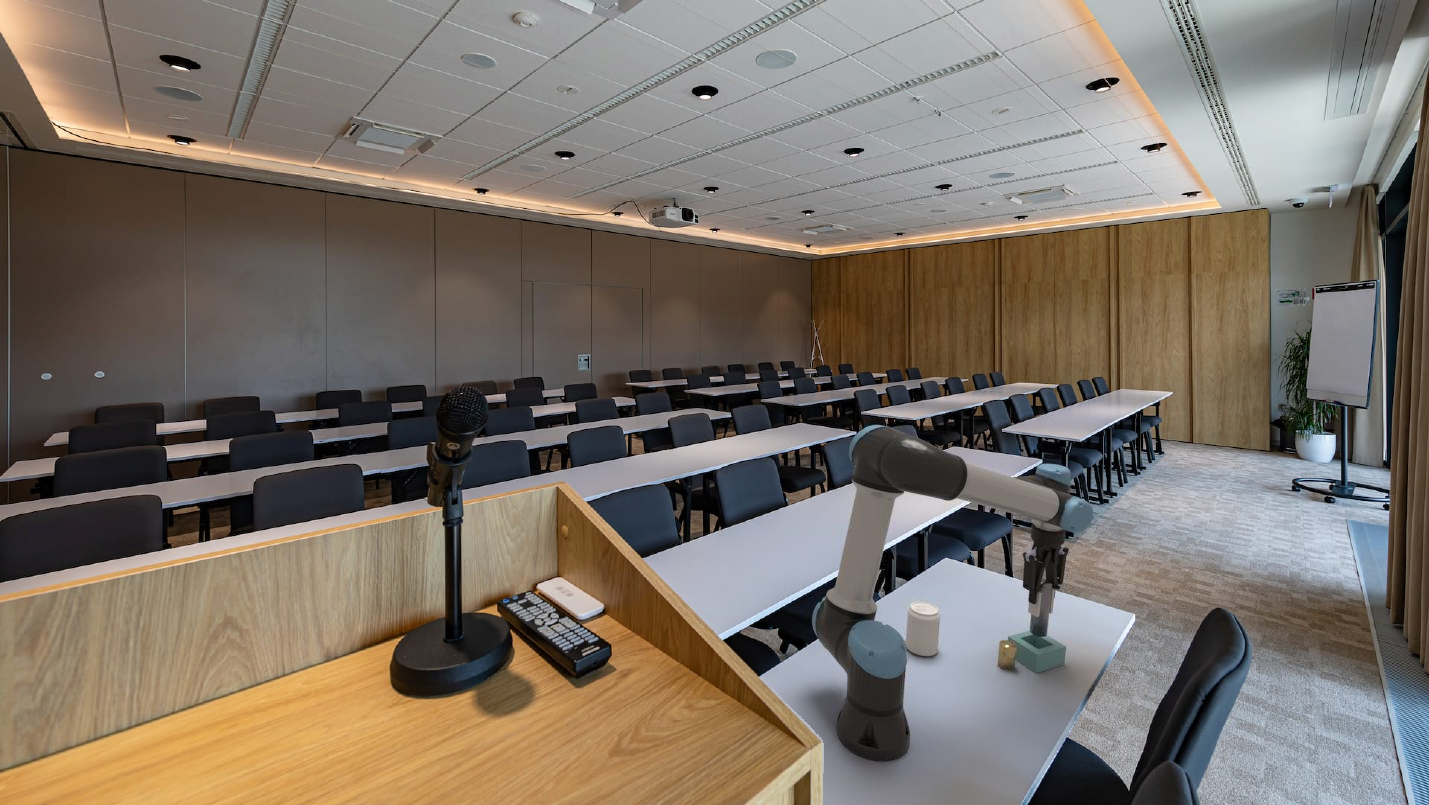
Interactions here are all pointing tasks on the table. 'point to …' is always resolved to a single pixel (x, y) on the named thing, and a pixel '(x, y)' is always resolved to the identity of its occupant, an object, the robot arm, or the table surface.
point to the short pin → (1007, 655)
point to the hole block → (1038, 651)
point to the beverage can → (922, 628)
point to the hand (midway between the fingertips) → (1040, 612)
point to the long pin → (1042, 611)
